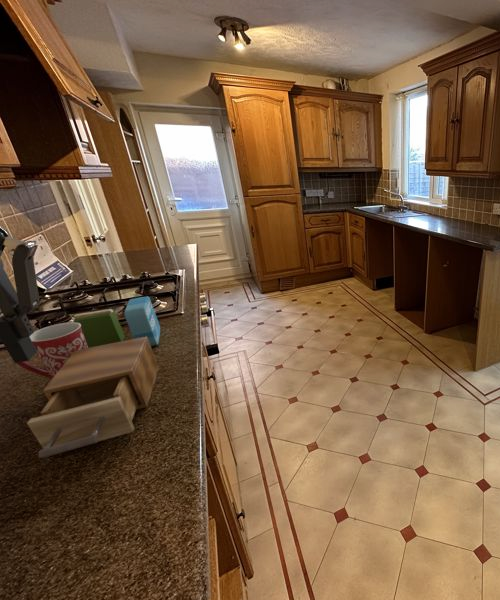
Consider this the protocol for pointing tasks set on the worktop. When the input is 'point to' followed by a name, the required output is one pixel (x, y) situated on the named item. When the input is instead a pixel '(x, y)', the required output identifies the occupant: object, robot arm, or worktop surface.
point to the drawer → (85, 415)
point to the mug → (55, 347)
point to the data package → (142, 320)
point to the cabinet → (110, 368)
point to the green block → (100, 327)
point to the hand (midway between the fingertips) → (26, 357)
